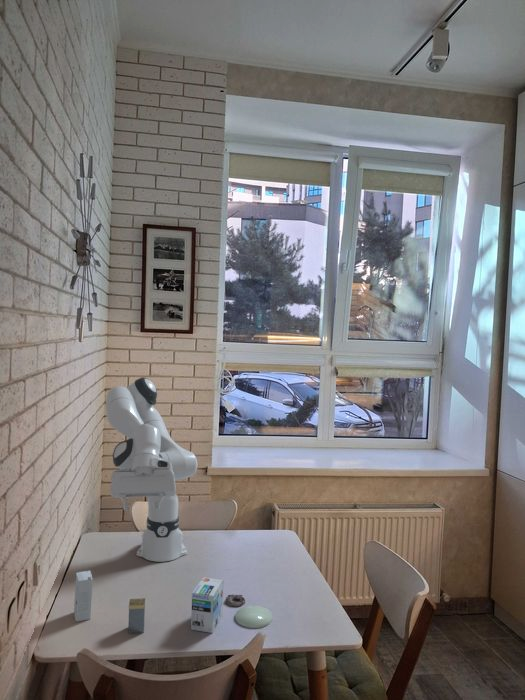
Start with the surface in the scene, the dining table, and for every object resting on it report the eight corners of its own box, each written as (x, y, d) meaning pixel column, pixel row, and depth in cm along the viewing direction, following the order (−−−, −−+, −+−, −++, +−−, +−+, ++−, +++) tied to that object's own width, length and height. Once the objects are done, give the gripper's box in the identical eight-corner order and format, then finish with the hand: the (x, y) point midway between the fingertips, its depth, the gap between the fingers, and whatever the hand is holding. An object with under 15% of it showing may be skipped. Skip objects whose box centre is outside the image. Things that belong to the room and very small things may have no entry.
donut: (251, 608, 165) (251, 602, 165) (227, 613, 162) (227, 606, 162) (241, 595, 173) (241, 589, 173) (219, 599, 170) (219, 593, 169)
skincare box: (73, 612, 158) (74, 572, 157) (89, 609, 160) (90, 569, 159) (75, 622, 152) (76, 581, 152) (91, 619, 154) (93, 578, 154)
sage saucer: (233, 610, 163) (233, 606, 163) (268, 608, 165) (268, 604, 165) (237, 630, 152) (237, 626, 152) (275, 628, 154) (275, 624, 154)
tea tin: (129, 626, 151) (129, 599, 151) (144, 625, 152) (145, 598, 152) (128, 633, 148) (128, 605, 147) (143, 633, 148) (144, 604, 148)
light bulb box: (212, 634, 149) (214, 596, 149) (189, 630, 150) (191, 593, 150) (223, 614, 160) (224, 579, 159) (201, 611, 161) (202, 576, 161)
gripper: (110, 464, 168) (105, 505, 159) (176, 462, 170) (174, 502, 161) (113, 474, 173) (108, 514, 164) (177, 472, 175) (175, 512, 166)
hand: (141, 508), depth 162 cm, fingers open, 8 cm apart
